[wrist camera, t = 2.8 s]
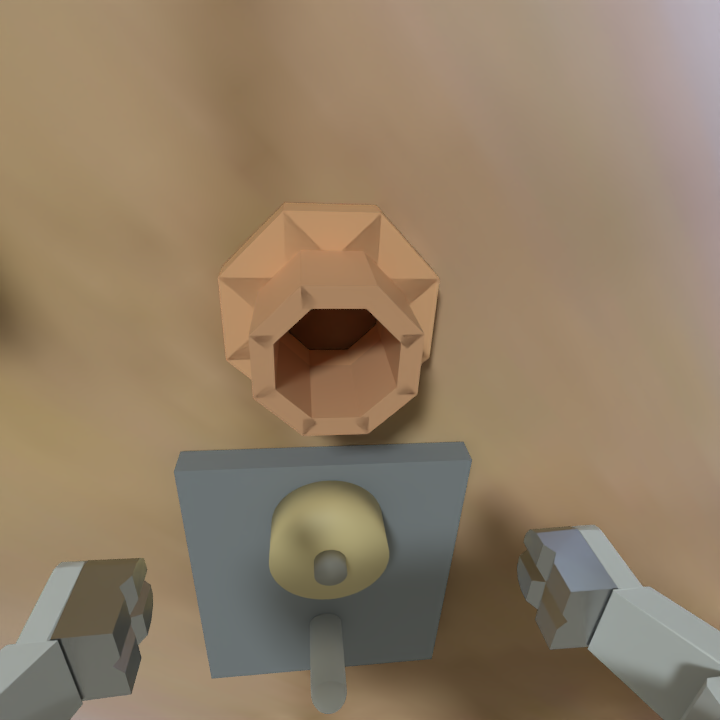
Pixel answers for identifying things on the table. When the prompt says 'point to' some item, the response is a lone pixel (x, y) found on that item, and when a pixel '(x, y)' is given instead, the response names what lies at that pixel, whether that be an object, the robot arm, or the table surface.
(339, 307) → the octagonal tube stub
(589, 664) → the table surface
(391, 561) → the carrier plate
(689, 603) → the table surface
